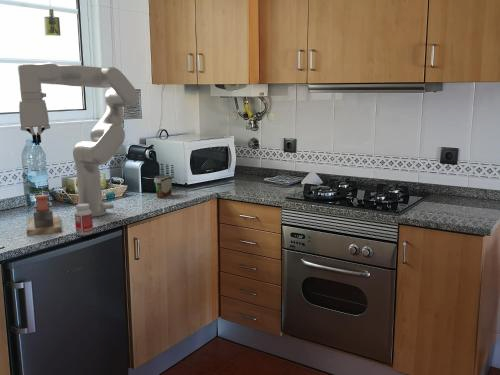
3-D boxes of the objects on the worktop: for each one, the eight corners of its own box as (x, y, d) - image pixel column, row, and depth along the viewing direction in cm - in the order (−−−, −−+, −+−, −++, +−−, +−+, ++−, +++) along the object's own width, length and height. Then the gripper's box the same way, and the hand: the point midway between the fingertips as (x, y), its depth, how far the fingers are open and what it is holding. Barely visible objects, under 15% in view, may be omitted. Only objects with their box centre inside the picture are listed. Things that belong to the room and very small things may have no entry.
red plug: (49, 216, 207) (47, 194, 206) (49, 219, 203) (47, 196, 201) (37, 217, 206) (35, 195, 204) (37, 220, 202) (35, 197, 200)
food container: (162, 193, 274) (161, 174, 272) (172, 194, 272) (172, 175, 270) (150, 198, 262) (149, 178, 261) (161, 199, 260) (160, 179, 259)
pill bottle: (95, 231, 202) (93, 202, 200) (90, 235, 196) (88, 206, 194) (79, 231, 203) (77, 203, 201) (73, 236, 197) (71, 206, 194)
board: (59, 219, 222) (58, 200, 221) (61, 232, 202) (59, 211, 201) (28, 222, 218) (27, 203, 217) (27, 235, 198) (25, 214, 197)
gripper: (51, 95, 210) (57, 142, 214) (10, 97, 204) (16, 145, 208) (53, 96, 203) (58, 144, 207) (10, 98, 197) (16, 147, 201)
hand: (37, 144), depth 207 cm, fingers closed
